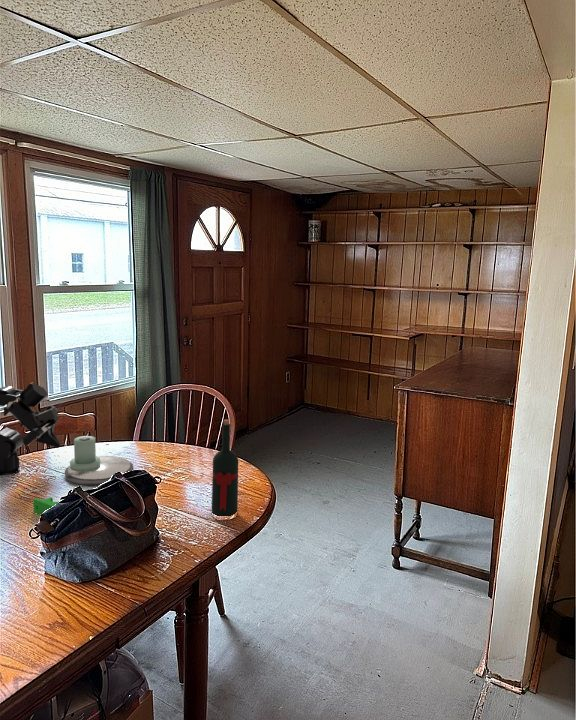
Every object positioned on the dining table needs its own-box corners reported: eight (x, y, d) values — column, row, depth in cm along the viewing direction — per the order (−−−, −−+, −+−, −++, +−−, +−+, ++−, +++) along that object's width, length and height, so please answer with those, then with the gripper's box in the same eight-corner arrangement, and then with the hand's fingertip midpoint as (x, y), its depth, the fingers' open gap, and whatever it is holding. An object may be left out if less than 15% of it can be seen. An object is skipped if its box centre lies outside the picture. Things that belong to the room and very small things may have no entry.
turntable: (76, 491, 167) (76, 484, 167) (56, 469, 185) (56, 462, 184) (143, 476, 182) (143, 469, 181) (119, 456, 199) (119, 450, 199)
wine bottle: (208, 524, 150) (210, 426, 145) (213, 508, 160) (214, 416, 155) (235, 525, 150) (238, 427, 145) (238, 509, 160) (240, 416, 155)
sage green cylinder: (75, 473, 176) (74, 445, 174) (66, 464, 183) (65, 437, 182) (104, 467, 182) (103, 440, 180) (94, 458, 190) (94, 432, 188)
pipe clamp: (70, 518, 151) (70, 503, 150) (59, 523, 147) (59, 508, 147) (44, 508, 156) (44, 494, 155) (33, 513, 152) (33, 498, 152)
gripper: (30, 407, 169) (65, 440, 171) (53, 393, 187) (84, 423, 189) (7, 429, 169) (42, 462, 172) (31, 413, 188) (63, 443, 190)
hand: (59, 446), depth 181 cm, fingers closed
